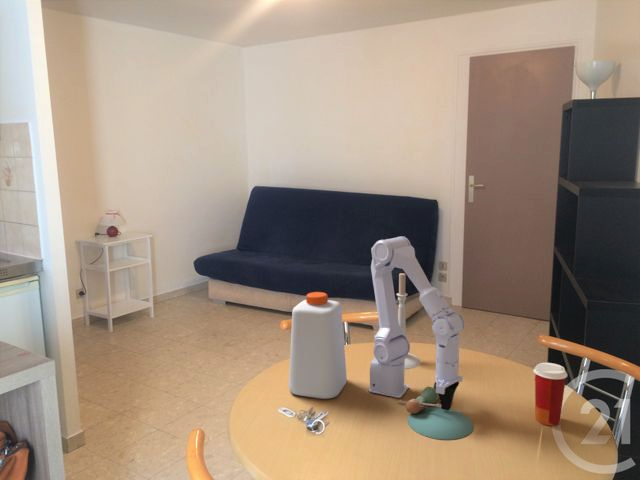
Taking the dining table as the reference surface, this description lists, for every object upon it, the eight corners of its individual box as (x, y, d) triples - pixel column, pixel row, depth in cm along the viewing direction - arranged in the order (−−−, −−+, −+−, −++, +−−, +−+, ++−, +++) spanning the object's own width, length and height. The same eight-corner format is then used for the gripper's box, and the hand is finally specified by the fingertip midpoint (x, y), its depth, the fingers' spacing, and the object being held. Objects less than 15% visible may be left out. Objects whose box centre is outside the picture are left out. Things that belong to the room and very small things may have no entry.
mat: (399, 430, 129) (399, 429, 129) (418, 403, 143) (418, 402, 143) (465, 446, 121) (465, 445, 121) (478, 415, 136) (478, 414, 135)
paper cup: (562, 415, 135) (565, 363, 133) (565, 430, 128) (569, 375, 126) (529, 410, 138) (532, 360, 135) (531, 425, 130) (534, 371, 128)
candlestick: (425, 358, 174) (427, 269, 169) (415, 373, 162) (417, 278, 157) (387, 353, 179) (388, 266, 174) (376, 366, 167) (376, 275, 162)
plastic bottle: (335, 402, 144) (334, 303, 139) (284, 395, 148) (281, 299, 144) (350, 380, 158) (349, 289, 153) (303, 374, 162) (301, 286, 158)
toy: (458, 383, 141) (429, 402, 130) (461, 399, 141) (432, 419, 130) (416, 380, 150) (386, 398, 139) (418, 395, 150) (389, 414, 139)
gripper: (456, 372, 127) (455, 424, 129) (468, 352, 140) (467, 400, 142) (428, 367, 130) (427, 418, 132) (442, 348, 143) (441, 394, 145)
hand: (446, 408), depth 137 cm, fingers closed
